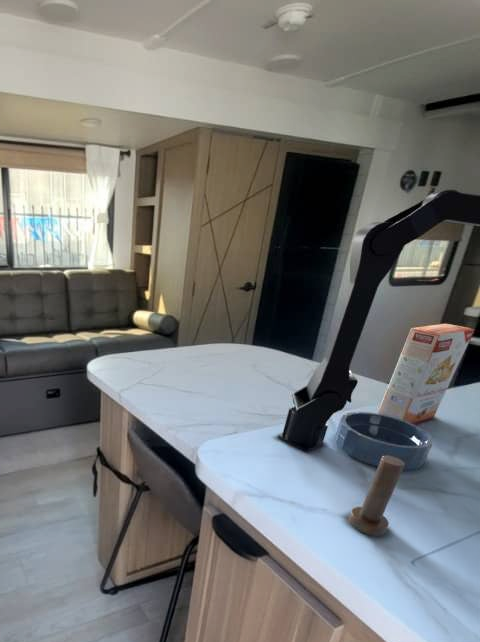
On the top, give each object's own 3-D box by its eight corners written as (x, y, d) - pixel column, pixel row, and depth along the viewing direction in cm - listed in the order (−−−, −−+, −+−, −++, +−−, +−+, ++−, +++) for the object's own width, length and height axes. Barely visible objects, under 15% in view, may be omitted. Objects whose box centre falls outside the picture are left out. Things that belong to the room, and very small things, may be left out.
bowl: (319, 444, 80) (326, 421, 78) (356, 427, 88) (364, 406, 85) (400, 481, 69) (411, 456, 67) (435, 458, 77) (446, 435, 75)
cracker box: (402, 429, 87) (442, 334, 78) (374, 418, 92) (408, 327, 83) (436, 418, 93) (477, 328, 84) (408, 408, 98) (444, 321, 89)
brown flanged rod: (342, 521, 59) (366, 457, 55) (358, 511, 62) (382, 448, 57) (375, 540, 56) (404, 473, 51) (391, 528, 58) (420, 464, 53)
